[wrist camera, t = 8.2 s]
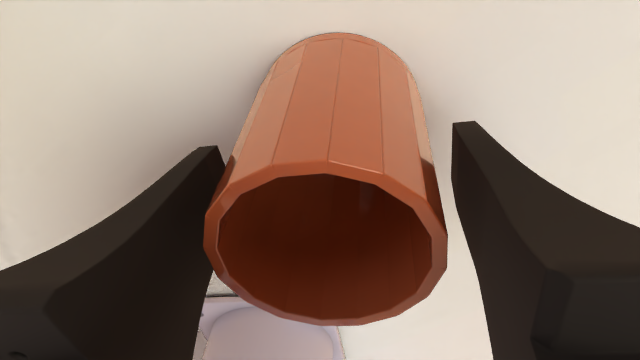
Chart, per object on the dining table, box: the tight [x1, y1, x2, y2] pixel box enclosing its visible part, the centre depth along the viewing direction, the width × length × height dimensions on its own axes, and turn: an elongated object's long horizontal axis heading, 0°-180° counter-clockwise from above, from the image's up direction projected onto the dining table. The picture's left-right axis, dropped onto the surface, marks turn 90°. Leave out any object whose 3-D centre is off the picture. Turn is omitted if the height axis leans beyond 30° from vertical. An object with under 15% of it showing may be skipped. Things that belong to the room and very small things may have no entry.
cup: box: [203, 33, 448, 326], centre depth 13 cm, size 6×6×7 cm
